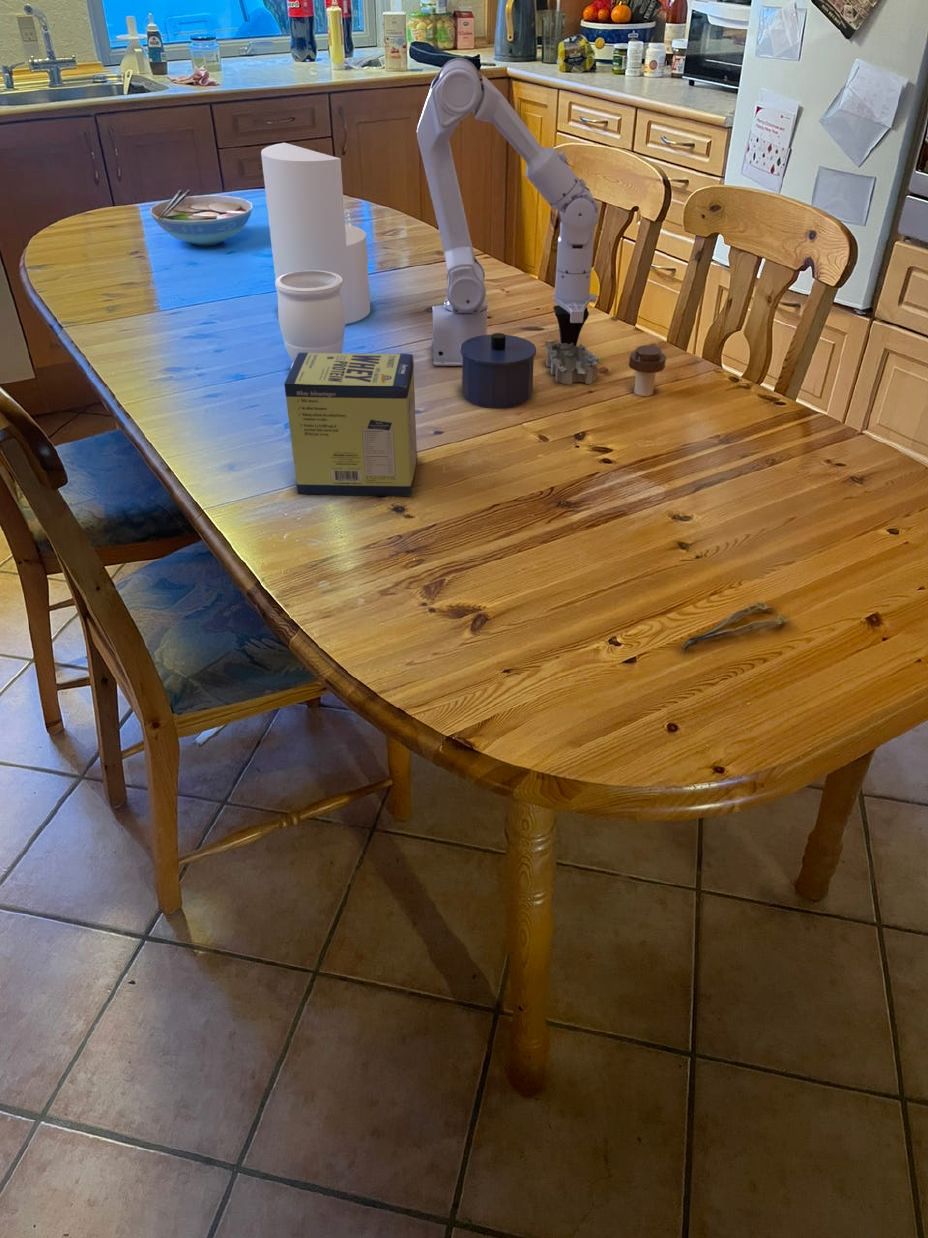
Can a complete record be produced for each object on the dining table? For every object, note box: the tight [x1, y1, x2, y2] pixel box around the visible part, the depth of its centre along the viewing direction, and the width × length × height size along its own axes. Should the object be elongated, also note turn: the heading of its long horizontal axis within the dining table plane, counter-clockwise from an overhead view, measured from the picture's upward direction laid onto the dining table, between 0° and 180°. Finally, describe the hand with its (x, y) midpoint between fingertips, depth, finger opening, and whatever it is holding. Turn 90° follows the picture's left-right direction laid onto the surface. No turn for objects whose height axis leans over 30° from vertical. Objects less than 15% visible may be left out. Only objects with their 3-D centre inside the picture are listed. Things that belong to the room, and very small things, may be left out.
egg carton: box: [545, 341, 600, 386], centre depth 157 cm, size 11×8×4 cm
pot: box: [461, 356, 535, 409], centre depth 149 cm, size 11×11×7 cm
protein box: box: [283, 352, 418, 497], centre depth 124 cm, size 10×16×16 cm
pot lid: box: [460, 332, 537, 366], centre depth 146 cm, size 12×12×3 cm
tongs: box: [681, 601, 788, 653], centre depth 101 cm, size 4×13×2 cm, turn 123°
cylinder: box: [260, 142, 371, 325], centre depth 173 cm, size 17×17×28 cm
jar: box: [274, 270, 346, 369], centre depth 154 cm, size 11×10×15 cm
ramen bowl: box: [149, 189, 253, 247], centre depth 215 cm, size 25×23×8 cm
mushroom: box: [628, 345, 667, 397], centre depth 150 cm, size 6×6×7 cm
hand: (568, 349), depth 162 cm, fingers closed
